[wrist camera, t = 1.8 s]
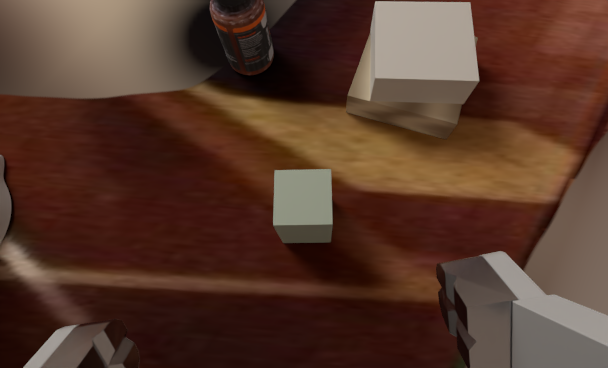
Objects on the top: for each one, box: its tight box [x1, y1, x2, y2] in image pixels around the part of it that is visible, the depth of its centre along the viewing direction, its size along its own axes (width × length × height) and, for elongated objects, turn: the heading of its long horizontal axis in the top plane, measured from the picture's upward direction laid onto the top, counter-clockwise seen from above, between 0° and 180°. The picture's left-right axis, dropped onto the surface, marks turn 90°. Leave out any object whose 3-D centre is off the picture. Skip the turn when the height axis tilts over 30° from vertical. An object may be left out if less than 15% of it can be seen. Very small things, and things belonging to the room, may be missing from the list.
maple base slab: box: [346, 32, 478, 139], centre depth 41 cm, size 12×12×4 cm
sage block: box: [273, 169, 333, 243], centre depth 34 cm, size 5×5×8 cm
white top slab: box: [370, 1, 479, 104], centre depth 38 cm, size 10×10×4 cm
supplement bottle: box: [210, 0, 274, 75], centre depth 40 cm, size 6×6×11 cm
